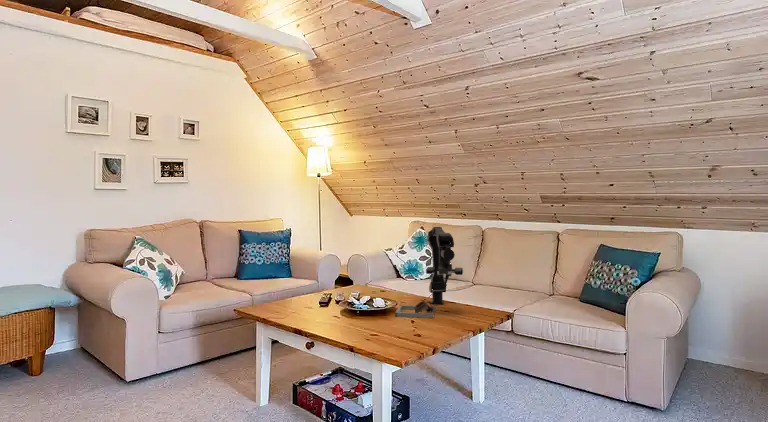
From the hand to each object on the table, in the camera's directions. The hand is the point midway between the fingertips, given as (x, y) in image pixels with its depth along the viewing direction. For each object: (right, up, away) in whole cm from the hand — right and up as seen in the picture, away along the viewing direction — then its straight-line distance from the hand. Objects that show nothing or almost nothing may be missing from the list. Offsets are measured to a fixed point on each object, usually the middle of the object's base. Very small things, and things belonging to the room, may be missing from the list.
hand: (444, 287), depth 261 cm
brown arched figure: (-10, -13, -7) cm, 18 cm away
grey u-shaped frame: (-15, -13, -4) cm, 20 cm away
